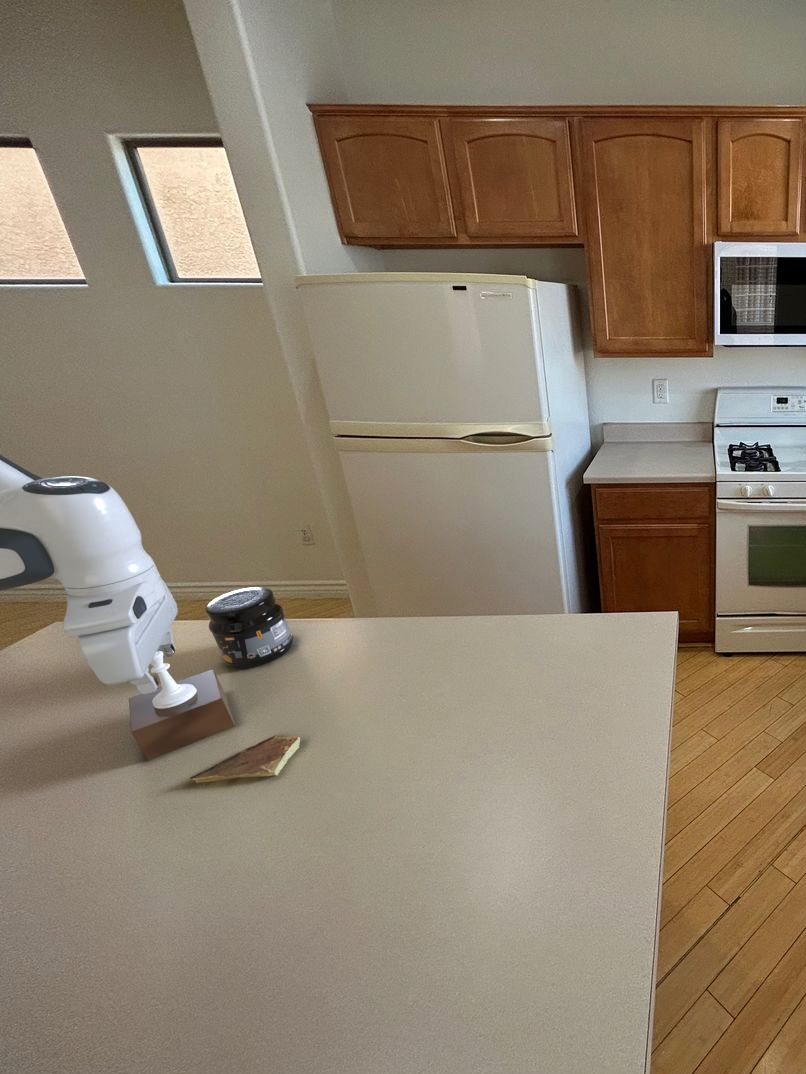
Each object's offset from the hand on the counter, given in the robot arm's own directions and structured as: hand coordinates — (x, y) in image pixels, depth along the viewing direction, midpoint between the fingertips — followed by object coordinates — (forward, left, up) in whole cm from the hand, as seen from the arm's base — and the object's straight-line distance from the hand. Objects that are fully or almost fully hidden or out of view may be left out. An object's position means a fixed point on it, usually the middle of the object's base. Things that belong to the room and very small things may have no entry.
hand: (160, 671), depth 82 cm
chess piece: (0, 0, -5) cm, 5 cm away
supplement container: (+7, +18, -11) cm, 22 cm away
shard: (+10, -16, -11) cm, 22 cm away
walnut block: (0, 0, -11) cm, 11 cm away
